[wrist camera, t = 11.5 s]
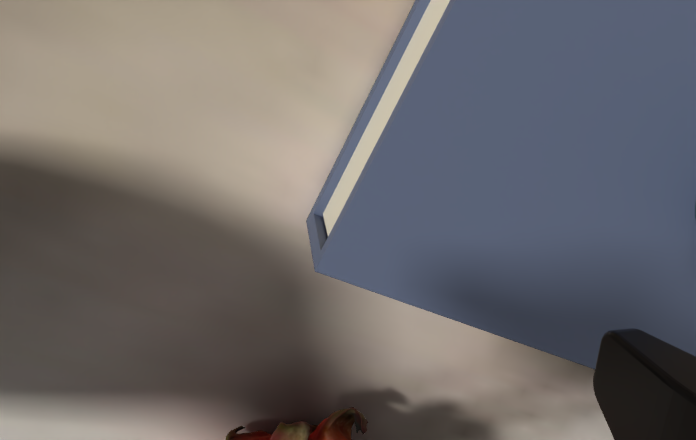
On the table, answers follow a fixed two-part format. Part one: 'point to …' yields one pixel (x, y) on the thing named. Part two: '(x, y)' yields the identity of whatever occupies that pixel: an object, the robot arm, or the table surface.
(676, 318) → the book
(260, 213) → the table surface
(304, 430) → the dragon fruit
